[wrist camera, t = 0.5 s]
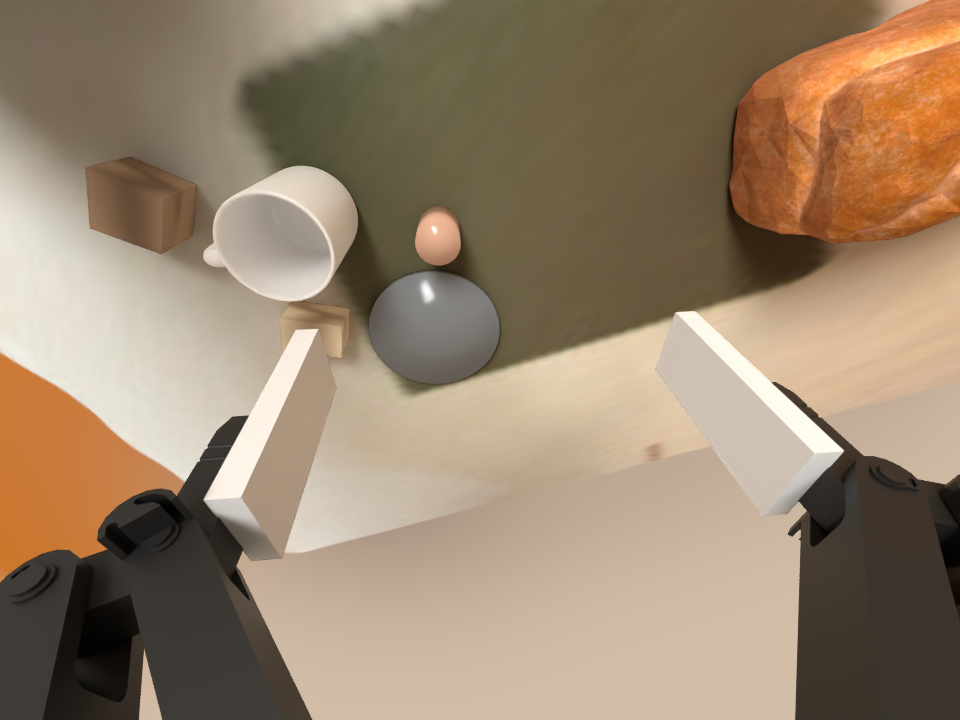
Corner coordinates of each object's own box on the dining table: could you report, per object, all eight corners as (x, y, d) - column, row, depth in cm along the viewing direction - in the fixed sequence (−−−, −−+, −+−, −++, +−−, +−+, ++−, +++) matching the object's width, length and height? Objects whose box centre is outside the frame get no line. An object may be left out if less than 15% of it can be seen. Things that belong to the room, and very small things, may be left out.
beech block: (294, 330, 43) (282, 350, 40) (292, 299, 41) (279, 318, 38) (349, 338, 44) (341, 358, 41) (349, 308, 42) (341, 326, 39)
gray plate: (342, 331, 44) (341, 334, 43) (432, 240, 38) (431, 243, 38) (438, 397, 51) (437, 401, 50) (524, 329, 45) (525, 333, 45)
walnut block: (131, 211, 35) (89, 228, 31) (130, 156, 32) (85, 167, 28) (192, 235, 36) (161, 254, 32) (196, 184, 34) (163, 198, 30)
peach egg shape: (409, 226, 37) (405, 243, 33) (438, 196, 36) (437, 210, 32) (439, 254, 39) (438, 274, 35) (467, 227, 38) (470, 244, 34)
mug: (261, 271, 39) (211, 322, 30) (210, 186, 34) (134, 220, 26) (373, 244, 38) (352, 289, 30) (337, 153, 33) (301, 176, 25)
